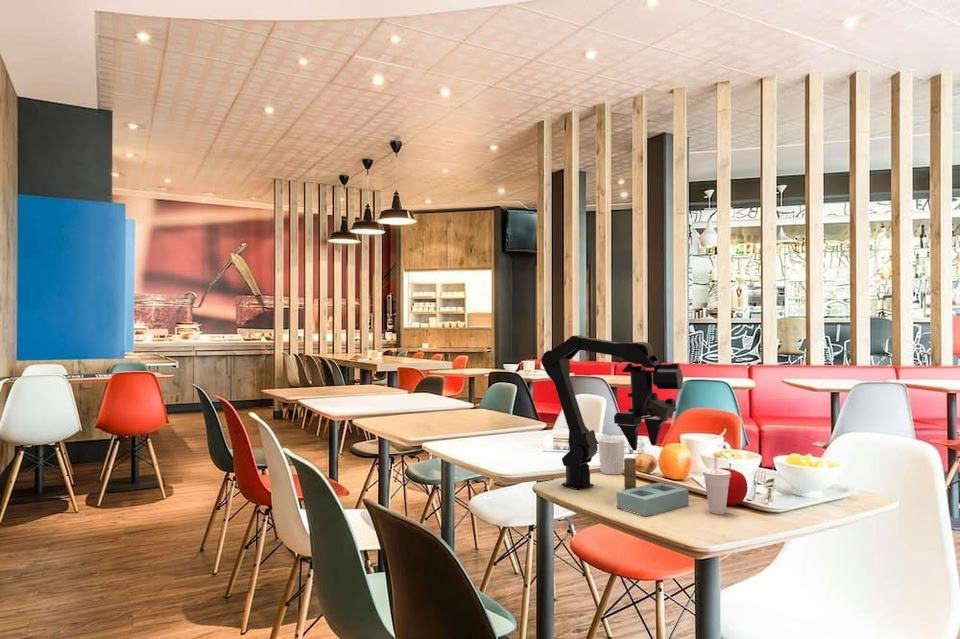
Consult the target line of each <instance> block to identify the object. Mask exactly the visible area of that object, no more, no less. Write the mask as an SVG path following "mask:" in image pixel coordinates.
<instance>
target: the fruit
mask: <svg viewBox="0 0 960 639" xmlns="http://www.w3.org/2000/svg"><path fill="white" fill-rule="evenodd" d="M731 466H732V463H731V462H729V468H728V467H720V468H719V469H722V470H726V471H729V472H730V473H731V477H730V478H729V487H728V495H727V504H726V506H736V505H739V504H740V503H741V502H743V501H744V500H745V498H746V496H747V493H748V482H747V481H748V480H747V479H746V477H745V475H744V474H743V473H742V472H741V471H737V470H735V469H732V468H731Z"/></svg>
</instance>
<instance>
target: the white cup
mask: <svg viewBox="0 0 960 639" xmlns="http://www.w3.org/2000/svg"><path fill="white" fill-rule="evenodd" d="M598 443H599V444H598V453H599V464H600V466H599V468H600V472H601V473H602V474H605V475H611V476H613V475H622V474H624V458H625V443H626V442H625V439H623V438H619V437H601V438H598Z"/></svg>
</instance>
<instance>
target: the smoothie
mask: <svg viewBox="0 0 960 639" xmlns="http://www.w3.org/2000/svg"><path fill="white" fill-rule="evenodd" d="M713 457H714V461H713V463H714V468H707V469H703V470H702V476H703V477H704V484H705V490H706V497H707V498H706V499H707V504H708V506H707V507H708V510H709V511H708V512H709V513H710V514H715V515H723V514H724V515H725V514H726V512H727V505H726V504H727V495H728V487H729V478H730V477H731V473H730V472H729V471H726V470H722V469H720V468H718V458H717V457H718V454H717V453H714V456H713Z"/></svg>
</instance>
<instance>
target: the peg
mask: <svg viewBox="0 0 960 639" xmlns="http://www.w3.org/2000/svg"><path fill="white" fill-rule="evenodd" d="M636 462H637V460H636V458H633V457H624V464H623V474H624V476H623V478H624V479H623V480H624V482H623V483H624V490H627V489H632V488H636V487H637V470H636V469H637V465H636V464H637V463H636Z"/></svg>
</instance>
